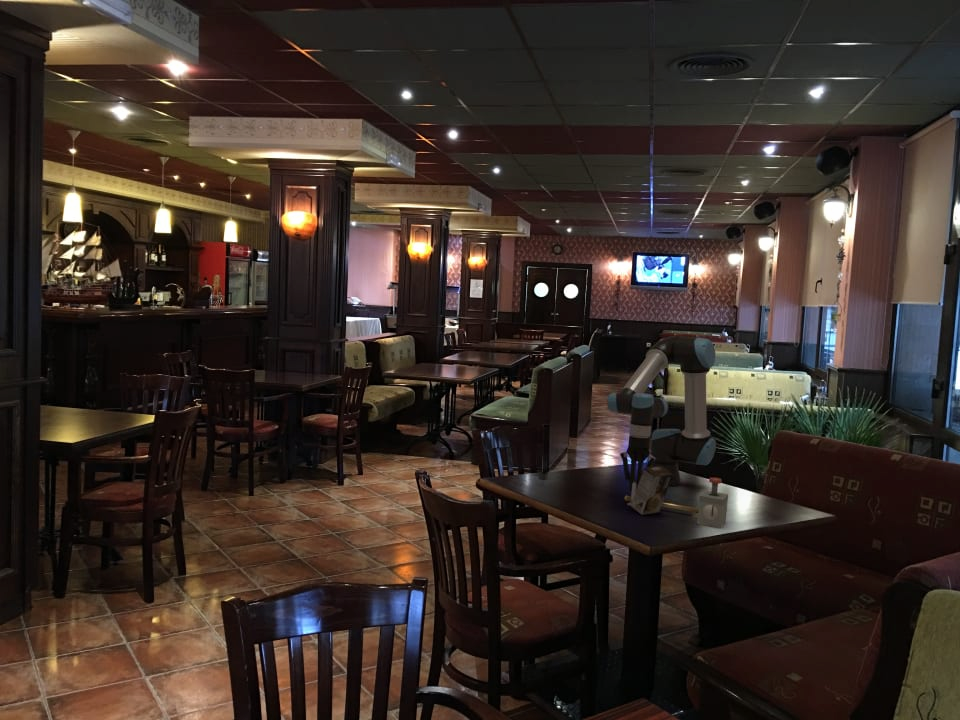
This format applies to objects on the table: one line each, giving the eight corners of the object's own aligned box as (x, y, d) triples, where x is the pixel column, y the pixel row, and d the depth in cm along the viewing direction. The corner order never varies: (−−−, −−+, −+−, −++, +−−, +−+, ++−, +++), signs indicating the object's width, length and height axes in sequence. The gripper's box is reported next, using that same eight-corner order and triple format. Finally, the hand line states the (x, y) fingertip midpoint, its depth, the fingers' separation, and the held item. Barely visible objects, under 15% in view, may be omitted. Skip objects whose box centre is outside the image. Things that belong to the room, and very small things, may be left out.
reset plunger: (709, 491, 267) (710, 476, 266) (721, 493, 265) (722, 478, 265) (707, 493, 263) (708, 478, 263) (719, 495, 261) (720, 480, 261)
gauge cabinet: (702, 517, 271) (705, 490, 270) (725, 521, 268) (728, 494, 267) (696, 524, 262) (699, 496, 261) (720, 528, 258) (723, 500, 257)
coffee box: (647, 503, 279) (661, 465, 274) (659, 512, 274) (673, 474, 269) (629, 505, 274) (643, 466, 269) (641, 515, 269) (656, 476, 264)
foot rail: (623, 504, 283) (623, 495, 283) (624, 502, 286) (625, 494, 285) (705, 518, 270) (705, 509, 270) (706, 517, 272) (707, 508, 272)
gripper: (619, 434, 274) (613, 498, 276) (654, 440, 268) (648, 505, 270) (625, 432, 281) (619, 495, 282) (660, 437, 275) (654, 501, 276)
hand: (633, 500), depth 276 cm, fingers closed
